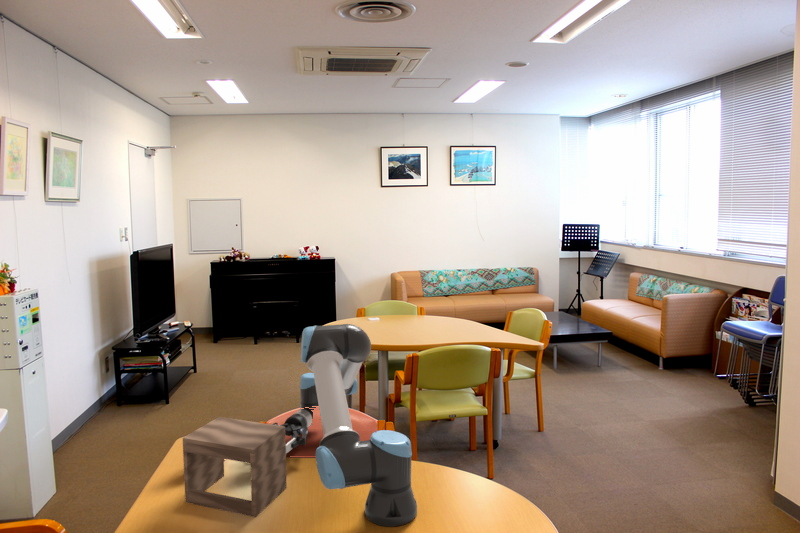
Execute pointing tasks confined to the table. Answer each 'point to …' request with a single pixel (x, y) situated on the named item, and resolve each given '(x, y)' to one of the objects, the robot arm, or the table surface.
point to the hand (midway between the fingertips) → (267, 446)
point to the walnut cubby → (238, 444)
